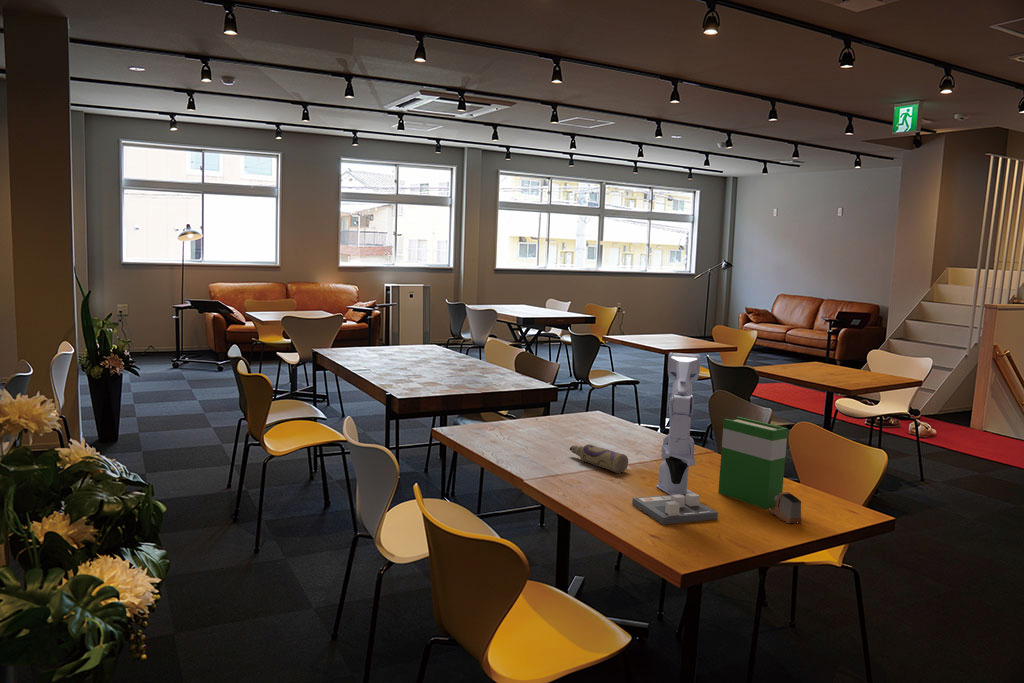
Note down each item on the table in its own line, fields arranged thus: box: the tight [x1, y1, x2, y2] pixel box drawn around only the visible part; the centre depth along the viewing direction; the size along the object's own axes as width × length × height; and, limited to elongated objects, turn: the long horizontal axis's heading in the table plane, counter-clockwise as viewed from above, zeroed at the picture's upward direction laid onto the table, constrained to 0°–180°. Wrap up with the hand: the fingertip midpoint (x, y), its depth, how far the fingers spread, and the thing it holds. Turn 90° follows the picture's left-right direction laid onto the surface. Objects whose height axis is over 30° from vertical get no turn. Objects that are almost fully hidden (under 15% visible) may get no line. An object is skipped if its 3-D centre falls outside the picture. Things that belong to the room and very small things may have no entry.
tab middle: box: [671, 494, 685, 508], centre depth 210 cm, size 2×3×3 cm
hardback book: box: [717, 416, 789, 510], centre depth 225 cm, size 18×7×24 cm, turn 37°
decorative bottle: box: [569, 444, 629, 474], centre depth 258 cm, size 26×8×7 cm, turn 38°
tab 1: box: [665, 501, 680, 515], centre depth 203 cm, size 2×3×3 cm
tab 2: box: [685, 492, 700, 506], centre depth 212 cm, size 2×3×3 cm
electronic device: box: [768, 491, 802, 525], centre depth 210 cm, size 4×10×8 cm, turn 17°
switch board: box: [632, 494, 719, 526], centre depth 211 cm, size 17×18×2 cm
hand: (676, 483), depth 208 cm, fingers closed
